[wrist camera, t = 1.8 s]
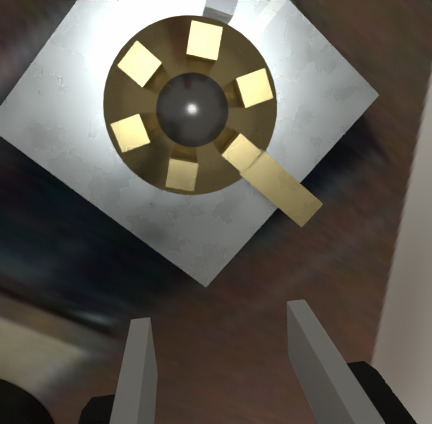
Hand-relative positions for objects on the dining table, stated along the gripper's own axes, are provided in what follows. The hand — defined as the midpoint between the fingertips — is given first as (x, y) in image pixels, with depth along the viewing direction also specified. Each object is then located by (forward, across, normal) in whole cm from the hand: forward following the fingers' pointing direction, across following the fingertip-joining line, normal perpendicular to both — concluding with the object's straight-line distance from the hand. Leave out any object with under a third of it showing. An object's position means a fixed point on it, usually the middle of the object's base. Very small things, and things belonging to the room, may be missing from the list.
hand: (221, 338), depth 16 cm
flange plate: (+17, 0, +9) cm, 19 cm away
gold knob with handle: (+15, +2, +7) cm, 16 cm away
